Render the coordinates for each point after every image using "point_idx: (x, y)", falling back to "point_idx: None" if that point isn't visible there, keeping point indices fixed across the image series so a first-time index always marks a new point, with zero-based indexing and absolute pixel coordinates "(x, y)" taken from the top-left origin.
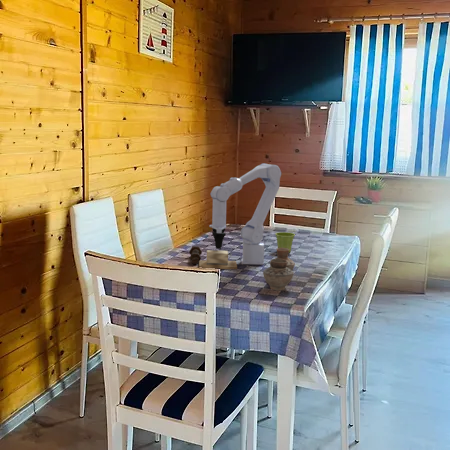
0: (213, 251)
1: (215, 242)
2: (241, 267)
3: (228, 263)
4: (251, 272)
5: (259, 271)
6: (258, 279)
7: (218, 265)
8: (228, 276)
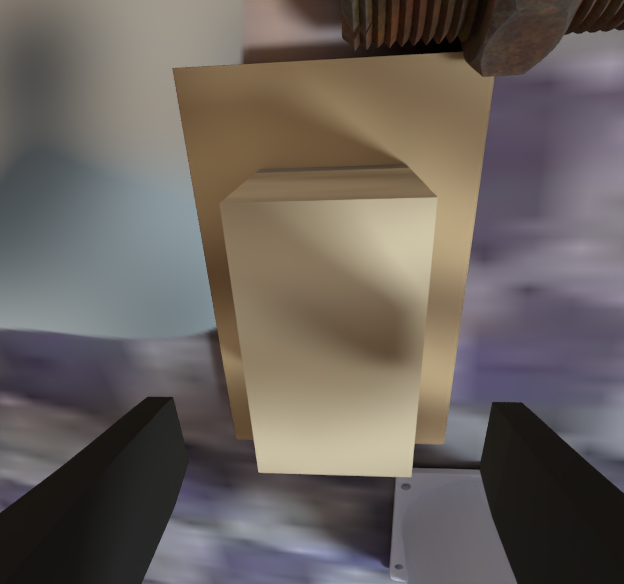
0: (360, 308)
1: (28, 497)
2: None
3: None
4: None
5: (217, 534)
6: None
7: None
8: (7, 359)
